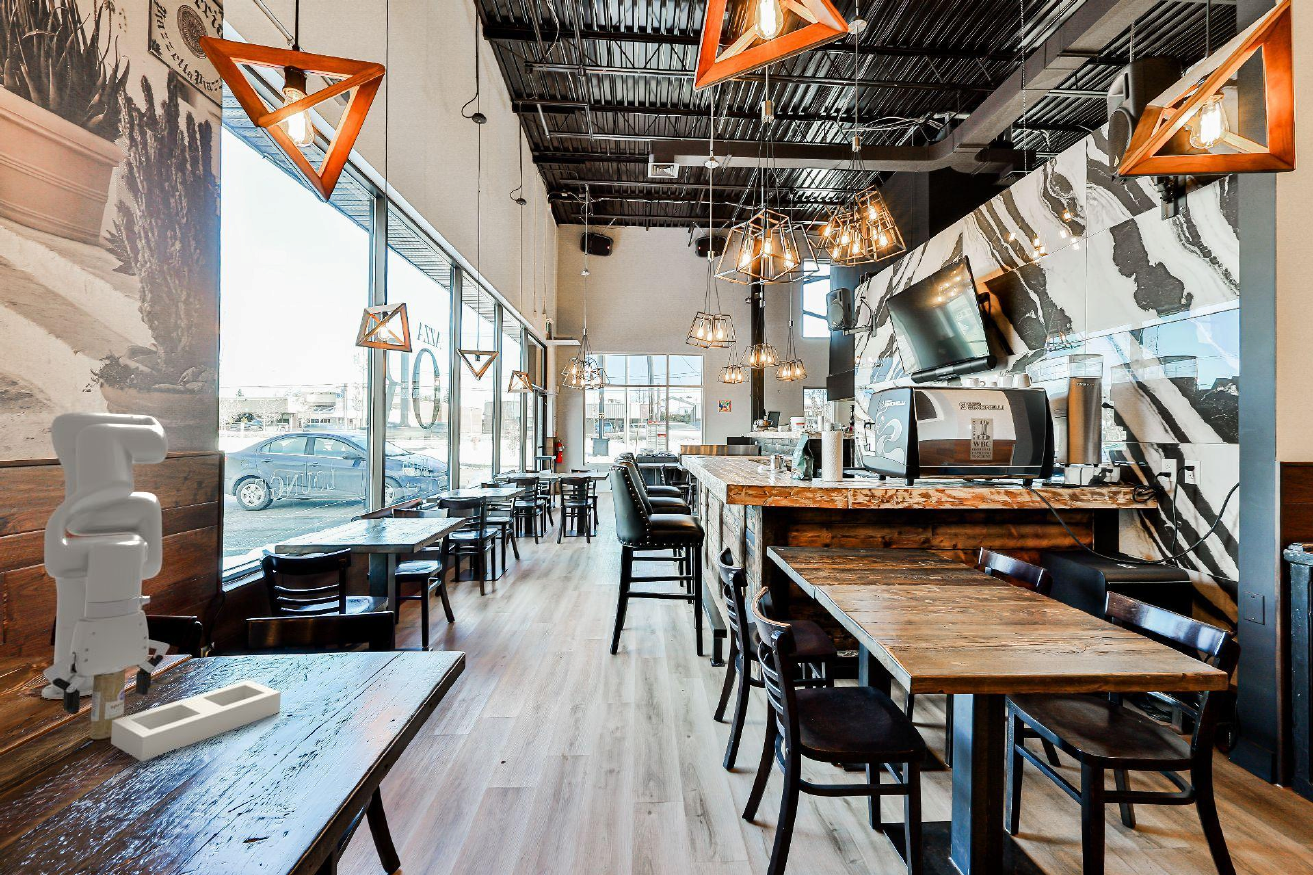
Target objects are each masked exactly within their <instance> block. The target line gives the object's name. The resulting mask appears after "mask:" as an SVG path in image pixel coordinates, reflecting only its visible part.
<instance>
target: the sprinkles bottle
mask: <svg viewBox="0 0 1313 875" xmlns="http://www.w3.org/2000/svg"><path fill="white" fill-rule="evenodd" d="M125 680H126V669H119V668H114V669H112V670H111V671H110V672H107V673H105V674H101V675H97V676H94V682H93V691H92V695H91V707H90V708H91V711H90V712H91V714H90V720H91V722H90V723H91V725H90V734H89V738H90V739H92V740H102V739H103V740H104V739H107V738H111V735H112V720H116V719H119V718H122V717H124V711H125V695H126V694H125V691H126V690H125V687H126V686H125V682H126V681H125Z"/></svg>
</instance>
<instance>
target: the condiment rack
mask: <svg viewBox="0 0 1313 875" xmlns="http://www.w3.org/2000/svg"><path fill="white" fill-rule="evenodd" d="M281 693H282V692H281V691H279V690H276V689H273V688H271V687H268V686H266V685H262V684H260V683H258V682H254V681H252V680H244V681H240V682H236V683H234V684H231V685H227V686H224V687H221V688H218V689H214V690H210V691H207V692H204V693H200V694H197V695H194V696H190V697H188V698H187V697H186V698H183V699H180V700H176V701H173V702H170V703H166V704H164V705H159V706H156V707H153V708H150V709H147V710H143V711H141V712H137V713H133V714H130V715H126V716H123V717H122V718H119V719H116V720H112V735H111V737H110V738H111V739H110V744H111V745H113V746H114V747H116V748H118V749H120V750H121V751H123V752H125V753H126V754H128V753H129V754H128V755H130V756H131V755H132V757H133V758H135V759H136V760H138V761H139V762H145V761H148V760H151V759H153V758H156V757H159V756H161V755H164V754H163V753H165V754H168V753H170V752H173V751H175V750H174V749H176V750H179V749H181V748H180V747H182V748H184V747H187V746H190V745H192V744H195V743H198V742H201V741H204V740H207V739H209V738H212V737H215V736H218V735H222V734H223V733H226V732H228V731H229V732H230V731H232V730H234V729H238V728H240V727H243V726H245V725H248V724H251V723H254V722H257V721H259V720H263V719H265V718H268V717H271V716H274V715H276V713H277V714H279V713H281V698H282V696H281ZM278 712H279V713H278ZM273 714H274V715H273ZM267 716H268V717H267ZM172 750H173V751H172ZM169 751H170V752H169ZM167 752H168V753H167ZM158 755H159V756H158Z"/></svg>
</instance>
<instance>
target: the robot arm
mask: <svg viewBox="0 0 1313 875" xmlns="http://www.w3.org/2000/svg"><path fill="white" fill-rule="evenodd" d="M50 427H51V430H50V435H51V436H50V437H51V443H52V446H53V449H54V453H55V454H56V456H57V459H58V461H59V462H60V465H61V466H62V470H63V472H64V477H65V480H64V481H65V484H64V486H65V487H64V500H63V502H62V503H61V504H59V505H58V506H57V508H56V509H55V510H54V511H53V512H52V514H51V515H50V516H49V518H48V521H47V523H46V525H45V529H44V540H43V541H44V547H43V550H44V551H43V552H44V554H43V560H44V568H45V572H46V573H47V574H48V576H49V577H50V578H53V579H55V587H56V618H55V620H56V621H55V622H56V623H55V625H56V626H55V637H54V638H55V640H54V655H53V656H54V657H53V659H54V660H53V664H52V665H50V666H49V667H47V668H45V669H44V670H43V672H42V673H43V675H44V676H45V678H46V679H47V680H48V681H49V682H50V684H49V685H47V686H45V687H44V688H42V690H41V695H42V696H41V697H42V698H43V697H44V698H43V699H45V698H51V699H54V698H63V702H62V708H63V709H62V710H64V711H65V712H67V713H69V714H71V715H72V716H74V715H75V716H76V715H77V714H78V713H79V712H80V698H81V697H80V696H83V695H89V694H92V691H93V682H94V676H97V675H101V674H105V673H107V672H110V671H111V670H112V669H114V668H119V669H130V668H134V667H137V668H138V669H139V670H138V671H137V672H136V676H135V677H136V679H135V680H136V681H135V693H136V694H139V695H140V696H147V695H148V693H149V689H150V688H151V686H152V685H151V684H152V672H154V671H155V669H156V667H157V666H158V665H160V663H161V662H162V661H163V659H164V656H165V655H166V653H167V652H168V651H169V648H170V647H171V646H170V644H169V643H165V642H161V641H157V640H154V639H153V640H152V639H149V628H148V622H147V617H146V613H145V610H142V609H143V605H146V604H150V603H151V597H150V595H148V596H144V595H143V594H142V584H143V580H144V581H145V580H149V579H152V578H155V577H156V576H157V575H158V574H159V573H160V571H161V569H162V565H163V524H162V520H163V516H162V507H161V502H160V501H159V498H158V497H157V495H155V494H153V493H151V492H145V491H135V480H134V478H135V477H134V467H133V466H134V465H135V464H139V465H140V464H144V465H146V464H160V463H162V462H163V461H164V460H165V459H166V457H167V455H168V451H169V441H168V436H167V434H166V431H165V429H164V428H163V426H162V425H161V423H160V422H159V421H158V420H157V419H156V418H155V417H153V416H151V415H150V416H149V415H141V414H123V413H109V412H108V413H106V412H94V411H93V412H92V411H91V412H89V411H88V412H87V411H83V412H82V411H77V412H75V411H74V412H67V413H63V414H60V415H58V416H56V417H55V418H54V419H53V420H52V424H51V426H50ZM66 530H67V531H68V534H69V533H70V534H71V535H73V536H74V535H75V536H79V537H67V534H66V532H67V531H66ZM150 648H151V649H156V651H155V653H154V654H153V655H152V656H151V657H150V658H149V652H150V650H149V649H150ZM148 658H149V659H148ZM89 696H90V695H89Z"/></svg>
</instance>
